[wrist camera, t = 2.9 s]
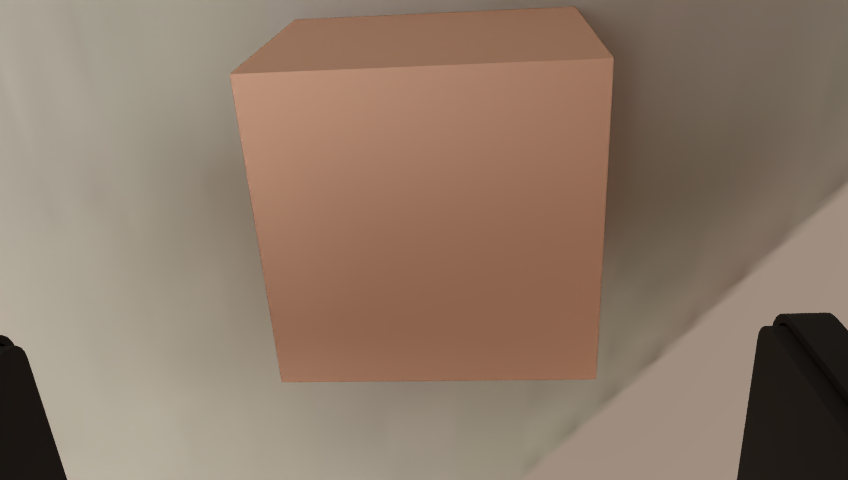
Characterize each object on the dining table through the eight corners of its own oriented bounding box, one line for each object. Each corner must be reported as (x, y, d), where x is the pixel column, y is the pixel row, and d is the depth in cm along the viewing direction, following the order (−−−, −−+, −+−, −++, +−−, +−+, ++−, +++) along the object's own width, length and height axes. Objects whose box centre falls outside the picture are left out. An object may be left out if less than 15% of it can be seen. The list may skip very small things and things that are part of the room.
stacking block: (574, 5, 16) (614, 57, 11) (566, 256, 19) (596, 379, 14) (296, 18, 16) (229, 73, 12) (326, 261, 19) (281, 382, 15)
